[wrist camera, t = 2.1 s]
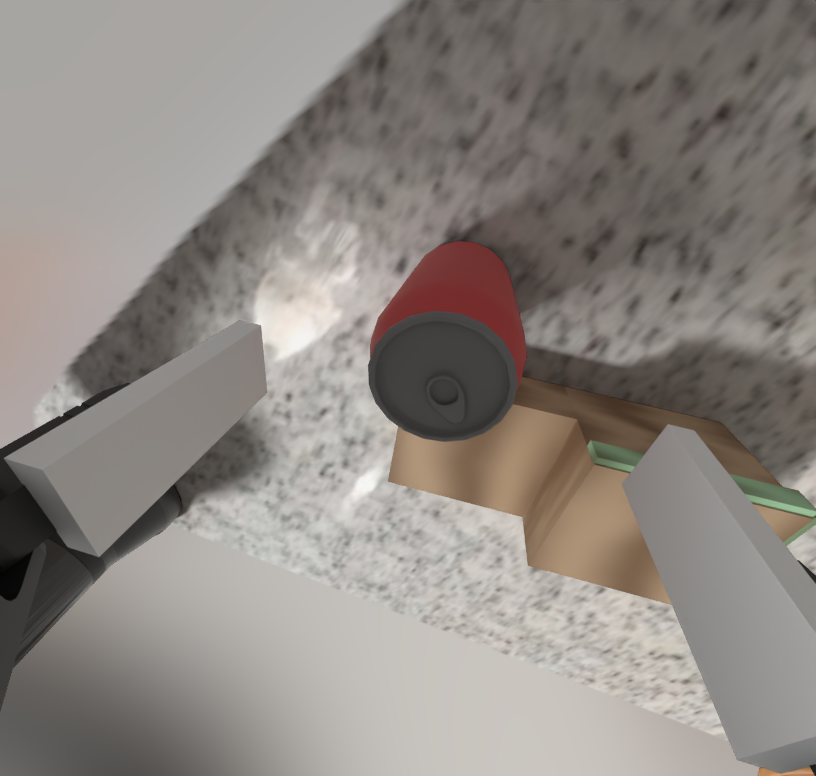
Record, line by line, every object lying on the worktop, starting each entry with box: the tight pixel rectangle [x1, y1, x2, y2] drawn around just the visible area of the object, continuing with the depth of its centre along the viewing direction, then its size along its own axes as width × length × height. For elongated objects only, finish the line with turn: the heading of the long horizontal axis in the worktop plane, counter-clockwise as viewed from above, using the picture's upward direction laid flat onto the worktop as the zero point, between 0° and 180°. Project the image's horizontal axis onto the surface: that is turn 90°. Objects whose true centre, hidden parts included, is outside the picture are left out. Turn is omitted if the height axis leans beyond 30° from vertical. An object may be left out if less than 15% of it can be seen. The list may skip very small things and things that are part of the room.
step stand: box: [388, 377, 816, 605], centre depth 24 cm, size 22×10×8 cm, turn 81°
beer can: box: [368, 241, 527, 442], centre depth 18 cm, size 7×7×12 cm
